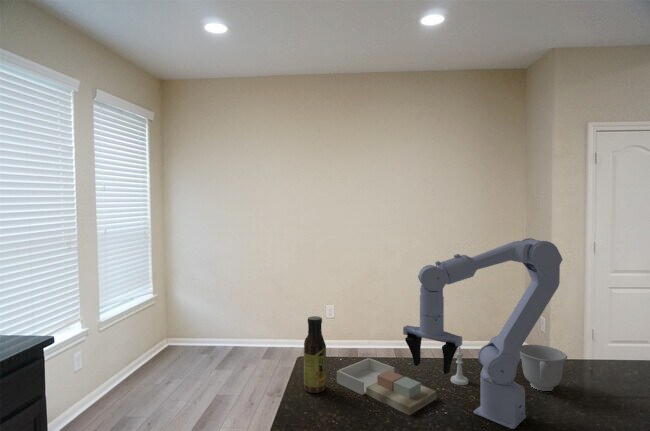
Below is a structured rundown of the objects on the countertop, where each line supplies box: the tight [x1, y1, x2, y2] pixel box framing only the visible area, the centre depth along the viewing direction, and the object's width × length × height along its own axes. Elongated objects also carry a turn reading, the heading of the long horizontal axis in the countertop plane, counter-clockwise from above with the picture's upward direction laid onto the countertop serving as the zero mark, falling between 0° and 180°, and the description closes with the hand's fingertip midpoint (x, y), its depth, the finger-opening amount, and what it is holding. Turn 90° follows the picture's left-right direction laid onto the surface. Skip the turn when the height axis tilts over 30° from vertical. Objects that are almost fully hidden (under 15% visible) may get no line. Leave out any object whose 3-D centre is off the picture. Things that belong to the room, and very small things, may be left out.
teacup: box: [520, 344, 568, 392], centre depth 103 cm, size 12×15×10 cm
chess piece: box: [450, 346, 469, 386], centre depth 109 cm, size 5×5×10 cm
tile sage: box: [394, 376, 422, 399], centre depth 98 cm, size 5×5×2 cm
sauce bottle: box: [303, 315, 327, 394], centre depth 104 cm, size 7×6×20 cm
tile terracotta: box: [377, 370, 404, 391], centre depth 102 cm, size 5×5×2 cm
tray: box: [336, 357, 395, 396], centre depth 109 cm, size 10×14×4 cm
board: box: [366, 382, 437, 416], centre depth 100 cm, size 14×12×2 cm
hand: (431, 368), depth 93 cm, fingers open, 7 cm apart
